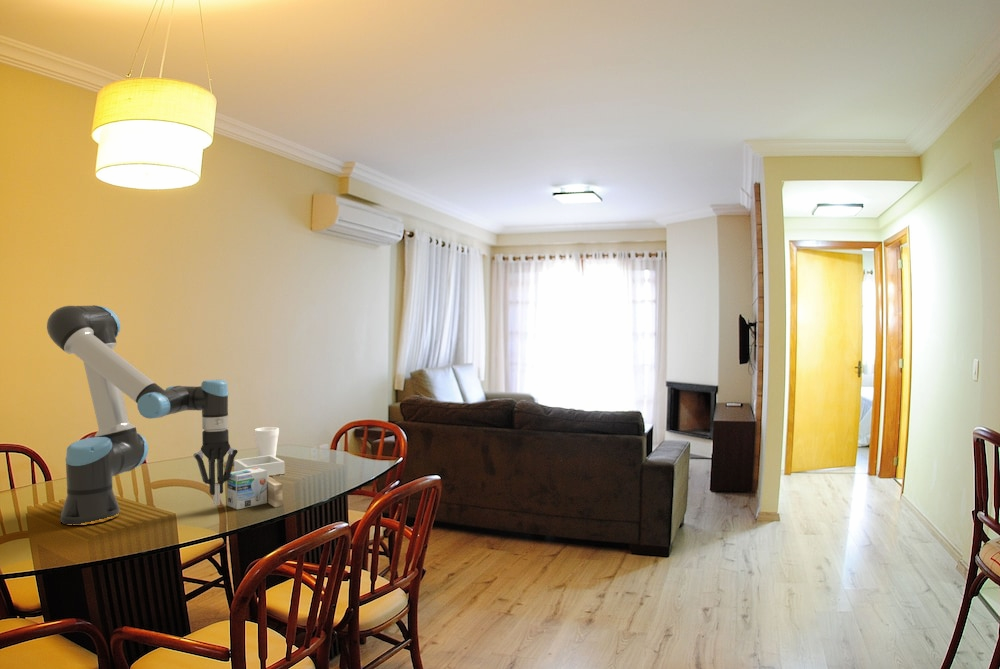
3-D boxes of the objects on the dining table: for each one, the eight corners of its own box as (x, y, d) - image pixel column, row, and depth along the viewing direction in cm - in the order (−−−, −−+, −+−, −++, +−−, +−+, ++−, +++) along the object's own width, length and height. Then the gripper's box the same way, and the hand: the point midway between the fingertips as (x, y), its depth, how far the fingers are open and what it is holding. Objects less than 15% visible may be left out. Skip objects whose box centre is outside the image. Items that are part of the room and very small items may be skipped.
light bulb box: (236, 510, 210) (236, 476, 210) (226, 506, 215) (226, 472, 214) (268, 502, 219) (268, 469, 218) (257, 498, 223) (257, 466, 223)
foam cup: (258, 457, 283) (258, 427, 283) (281, 457, 284) (280, 426, 284) (252, 463, 274) (252, 431, 273) (276, 462, 275) (275, 430, 274)
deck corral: (246, 480, 246) (245, 467, 246) (234, 472, 258) (234, 459, 257) (284, 474, 255) (284, 461, 255) (271, 467, 266) (271, 454, 266)
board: (274, 507, 214) (274, 485, 213) (254, 493, 230) (254, 473, 229) (282, 505, 215) (282, 484, 215) (261, 492, 231) (261, 471, 231)
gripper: (196, 433, 203) (197, 510, 204) (240, 428, 211) (241, 503, 212) (190, 430, 209) (191, 505, 210) (233, 425, 217) (234, 498, 218)
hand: (216, 504), depth 211 cm, fingers closed
